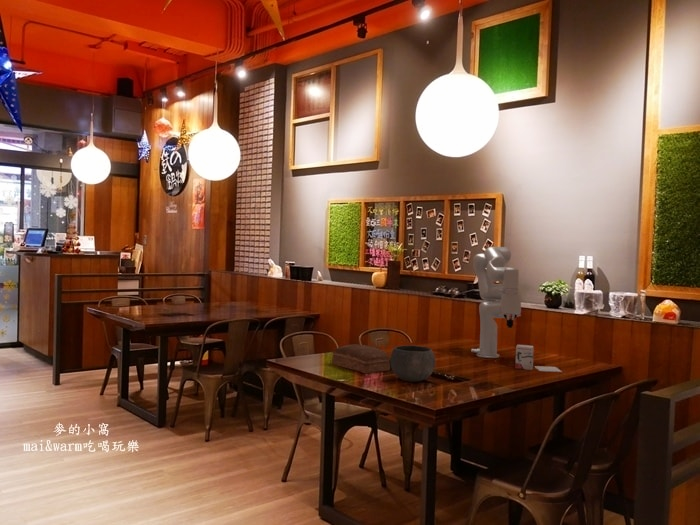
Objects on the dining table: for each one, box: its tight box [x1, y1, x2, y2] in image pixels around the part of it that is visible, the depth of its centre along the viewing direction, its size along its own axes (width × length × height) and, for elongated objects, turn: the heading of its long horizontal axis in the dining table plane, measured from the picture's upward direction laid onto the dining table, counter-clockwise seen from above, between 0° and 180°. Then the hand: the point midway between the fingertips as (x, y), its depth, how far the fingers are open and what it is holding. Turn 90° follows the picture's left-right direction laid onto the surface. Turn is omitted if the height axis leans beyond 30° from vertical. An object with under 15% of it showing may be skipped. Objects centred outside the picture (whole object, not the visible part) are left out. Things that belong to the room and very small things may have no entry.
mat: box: [533, 365, 563, 373], centre depth 312 cm, size 11×12×1 cm
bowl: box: [389, 344, 436, 383], centre depth 277 cm, size 20×20×15 cm
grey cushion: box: [331, 344, 391, 374], centre depth 306 cm, size 17×29×11 cm, turn 37°
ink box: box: [515, 344, 535, 371], centre depth 312 cm, size 9×5×12 cm, turn 70°
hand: (509, 327), depth 312 cm, fingers closed
